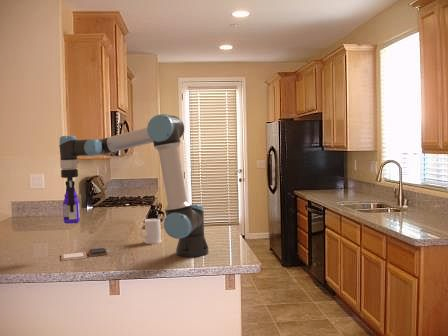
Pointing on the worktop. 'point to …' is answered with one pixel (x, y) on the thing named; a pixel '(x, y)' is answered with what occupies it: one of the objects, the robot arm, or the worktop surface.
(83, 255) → the print board
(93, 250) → the ink pad
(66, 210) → the bottle
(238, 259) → the worktop surface
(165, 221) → the robot arm
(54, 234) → the worktop surface
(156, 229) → the mug
